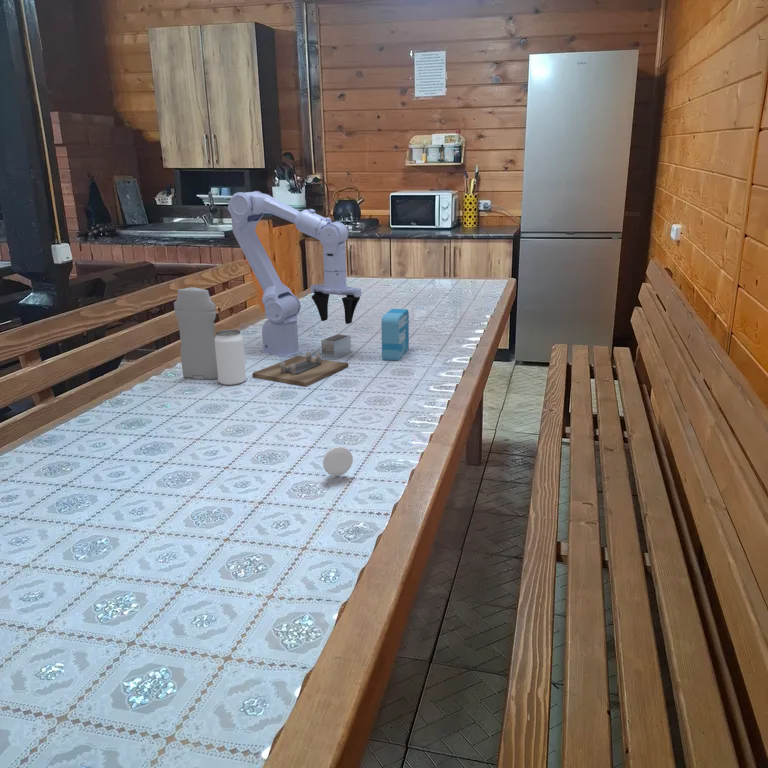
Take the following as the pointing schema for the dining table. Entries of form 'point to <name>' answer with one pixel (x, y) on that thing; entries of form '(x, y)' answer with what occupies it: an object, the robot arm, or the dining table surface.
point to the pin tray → (301, 370)
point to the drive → (336, 346)
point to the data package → (395, 334)
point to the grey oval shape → (337, 461)
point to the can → (230, 357)
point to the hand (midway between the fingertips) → (336, 321)
